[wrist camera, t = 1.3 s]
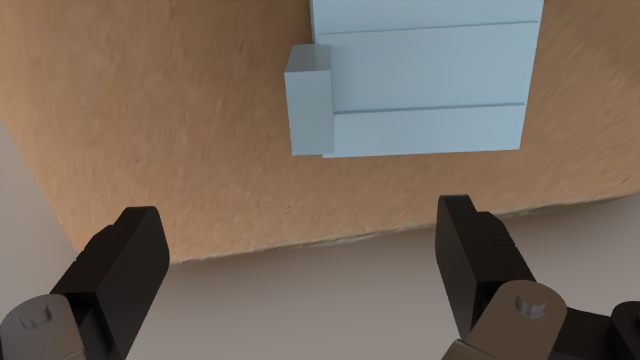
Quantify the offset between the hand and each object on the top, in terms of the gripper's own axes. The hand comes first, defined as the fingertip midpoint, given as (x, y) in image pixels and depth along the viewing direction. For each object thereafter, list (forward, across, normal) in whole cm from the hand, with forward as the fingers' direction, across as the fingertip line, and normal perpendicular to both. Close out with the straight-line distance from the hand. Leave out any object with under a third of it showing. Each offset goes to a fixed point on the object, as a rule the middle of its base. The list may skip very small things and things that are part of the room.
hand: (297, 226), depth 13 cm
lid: (+15, -6, 0) cm, 16 cm away
